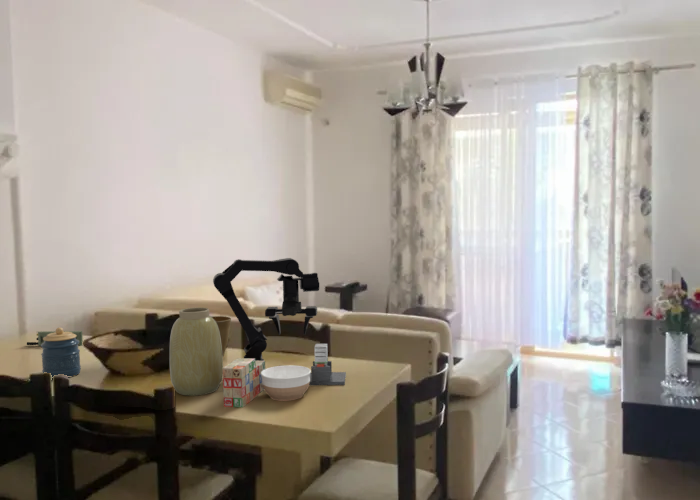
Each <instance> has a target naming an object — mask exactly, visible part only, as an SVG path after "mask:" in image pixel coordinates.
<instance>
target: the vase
mask: <svg viewBox="0 0 700 500" xmlns="http://www.w3.org/2000/svg"><path fill="white" fill-rule="evenodd" d="M178 313H179V317H178V318H177V319H176V320H175V321H174V323H173V325H172V328H171V331H170V337H169V355H168V356H169V357H168V359H169V374H170V381H171V385H172V386H173V388H174V390H175V392H176V393H177V394H179V395H183V396H200V395H201V396H202V395H208V394H211V393H213V392H215V391H217V390H218V389H219V387H220V386H221V383H222V381H223V368H224V363H223V362H224V359H223V358H224V356H222V345H221V338H220V332H219V328H218V325H217V323H216V321H215V320H214V319H213V318H212V317H211V315H210V308H207V307H187V308H184V309H183V308H182V309H179V311H178Z"/></svg>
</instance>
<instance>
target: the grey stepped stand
mask: <svg viewBox="0 0 700 500" xmlns="http://www.w3.org/2000/svg"><path fill="white" fill-rule="evenodd" d="M332 364H333V363H332V360H328V366H324V364H317V366H315V360H313V361H312V366H311V365H310V370H311V373H310V375H309V376H310V383H309V386H345V385H346V379H345V378H346V377H347V372H346V371H343V372H342V371H337V372H336V371H332V368H333V367H332Z"/></svg>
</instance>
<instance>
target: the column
mask: <svg viewBox="0 0 700 500" xmlns="http://www.w3.org/2000/svg"><path fill="white" fill-rule="evenodd" d="M314 361H315V366H317V364H324V366H328V361H329V357H328V343H315V345H314Z"/></svg>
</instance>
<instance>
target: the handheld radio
mask: <svg viewBox="0 0 700 500" xmlns="http://www.w3.org/2000/svg"><path fill="white" fill-rule="evenodd" d="M55 332H56V330H55V331H54V330H53V331H52V330H51V331H44V330H43V331H42V330H41V331H37V333H36V336H37V337H36V341H37V342H36V341H32V342H29V341H28V342H26V345H27V346H38V347H41V344H42V343H44V340H43V338H44V337H46V336H47V335H48V334H50V333H55ZM63 332H72V333H73V334H75V335H77V336H76V337H75V338H76V339H77V340H78V341H79V344H78V347H82V346H83V345H82V342H83V330H69V331H68V330H63Z"/></svg>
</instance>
